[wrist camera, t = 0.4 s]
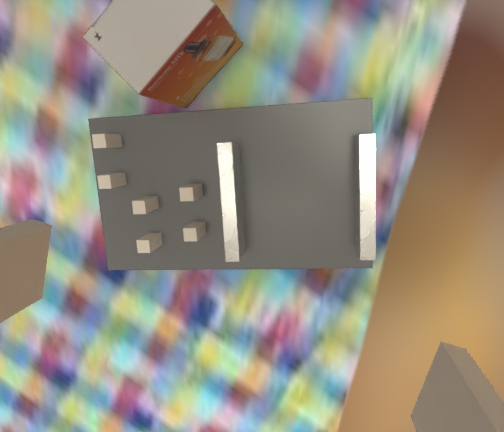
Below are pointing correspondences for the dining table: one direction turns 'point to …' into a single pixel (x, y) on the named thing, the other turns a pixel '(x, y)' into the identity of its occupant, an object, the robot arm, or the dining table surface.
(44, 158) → the dining table surface
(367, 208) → the end holder
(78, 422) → the dining table surface
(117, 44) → the small box
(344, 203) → the board
